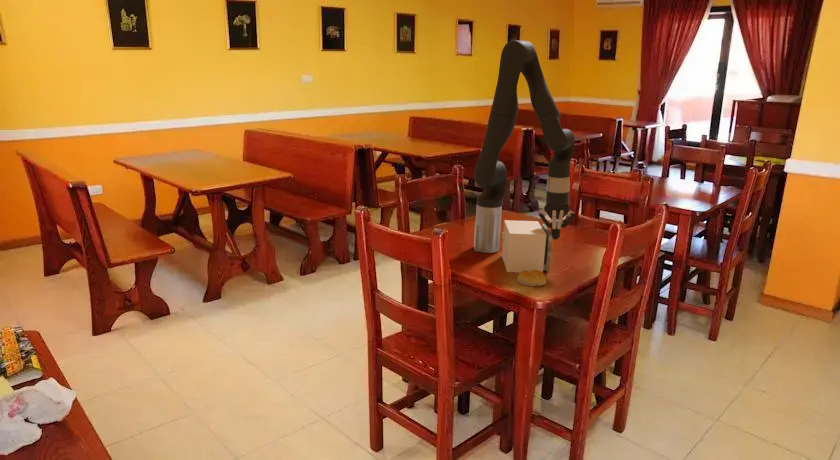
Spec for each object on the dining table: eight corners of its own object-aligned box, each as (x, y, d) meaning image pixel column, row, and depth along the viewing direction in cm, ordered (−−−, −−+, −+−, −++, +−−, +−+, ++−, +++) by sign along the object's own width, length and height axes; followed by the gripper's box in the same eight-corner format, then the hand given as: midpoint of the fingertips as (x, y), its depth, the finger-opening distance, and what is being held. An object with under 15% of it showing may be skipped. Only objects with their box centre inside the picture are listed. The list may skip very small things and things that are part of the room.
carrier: (509, 270, 194) (512, 234, 191) (504, 256, 208) (507, 222, 204) (551, 271, 194) (554, 235, 190) (543, 257, 207) (547, 223, 204)
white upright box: (506, 271, 193) (509, 233, 189) (501, 255, 209) (504, 220, 205) (542, 273, 193) (546, 234, 189) (534, 257, 209) (538, 221, 205)
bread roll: (514, 278, 188) (514, 266, 187) (540, 277, 190) (541, 266, 188) (521, 287, 181) (522, 276, 179) (549, 287, 182) (550, 275, 181)
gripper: (540, 192, 190) (537, 242, 194) (580, 191, 189) (577, 242, 194) (536, 187, 197) (534, 235, 202) (575, 187, 196) (572, 235, 201)
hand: (555, 238), depth 198 cm, fingers closed
